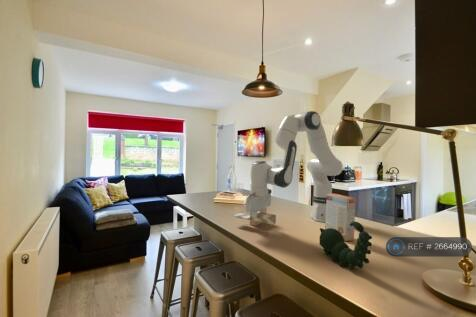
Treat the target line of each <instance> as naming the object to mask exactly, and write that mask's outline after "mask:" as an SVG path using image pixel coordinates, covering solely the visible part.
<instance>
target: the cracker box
mask: <svg viewBox="0 0 476 317" xmlns="http://www.w3.org/2000/svg"><path fill="white" fill-rule="evenodd" d="M356 201H357V200H356V197H351V196H348V195H343V194H339V193H333V192H332V194H327V200H326V221H325V222H324V223H325V224H324V226H325V227H324V229H328V228H333V229H336V230H338V231H339V232H340V233H341V234H342V236H343V238H344V242H352V241H354V238H355V227H354V226H350V223H351V222H354V221H355V222H356V206H357V205H356Z"/></svg>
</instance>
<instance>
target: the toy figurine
mask: <svg viewBox="0 0 476 317" xmlns="http://www.w3.org/2000/svg"><path fill="white" fill-rule="evenodd" d="M350 226H354V229H355V230H356V231H357V232H358V237H357V239H356V244H355V245H354V249H352V248H350V246H349V245H348V244H347V243H346V241H344V238H343V236H342V234H341V233H340V232H339V231H338V230H336V229H333V228H328V229H325V228H323V227H322V228H321V227H320V228H319V231H320V234H319V245H320V246H321V248H322V249H323V253H324V254H326V255H328V256H330V259H331V260H332V261H337V260H339V262H338V264H339V266H340V267H343V268H344V267H345V266H348V268H349V270H354V269H355V268H356V267H357V268H360V269H362V268H363V267H364V264H369V263H370V259H369V258H368V257H367V255H371V254H372V251H371V250H370V249H368V248H369V247H372V246H373V244H372V242H371V241H370V240H372V239H373V237H372V235H370V233H368V232H367V231H365V229H364V226H363V224H362V223H361V222H358V221H356V220H355V221H354V222H351V223H350Z"/></svg>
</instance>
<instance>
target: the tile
mask: <svg viewBox="0 0 476 317" xmlns="http://www.w3.org/2000/svg"><path fill="white" fill-rule="evenodd" d="M267 208H268V207H265V208H264V211H263V212H264V213H267ZM257 211H259V212H260V210H257ZM260 224H263V222H258V221H254V220H249V225H251V226H253V227H255V226H258V225H260Z"/></svg>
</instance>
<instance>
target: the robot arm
mask: <svg viewBox="0 0 476 317" xmlns="http://www.w3.org/2000/svg"><path fill="white" fill-rule="evenodd" d="M321 121H322V120H321V116H320V115H319V112H317V111H313V110H310V111H303V112H300V113H297V114H292V115H286V116H284V118H283V119H282V121H281V123H280V124H279V126H278V129H277V132H276V134H275V138H274V140H275V143H276V145H277V146H278V147H279V148H281V149H282V150H283V151H284V157H283V161H282V165H281V166H280V167H278V166H277V167H275V166H271V165H270V164H268V163H267V161H266V160H257V161H254V162H252V164H251V169H250V180H251V181H250V182H251V184H250V192H249V194H248V195H247V197H246V200H245V206H244V210H245V212H246V213H249V214H250V213H252V212H253V214H254V218H255V219H257V218H258V215H257V210H260V212H263V211H264V208H265V207H267V208H268V207H270V206H271V204H272V194H273V193H272V191H273V190H272V189H270V188H268V185H272V186H277V187H279V188H287V187H288V186H290V185H291V183H292V181H293V170H294V165H295V162H296V156H297V150H298V149H297V148H298V146H297V143H296V138H297V134H298V132H299V133H302V132H306V138H307V142H308V146H309V150H310V152H311V153H312V154H313V155H314V156H315V157H313V158H310V159H308V160H307V162H306V168H307V170H308V172H310V175H311V177H312V182H313V195H312V198H311V199H312V206H311V207H312V208H311V213H310V215H309V217H310V219H312V220H314V221H316V222H322V223H325V221H326V200H327V194H332V193H333V184H332V183H331V181H329V179H328V176H329V177H330V176H331V177H332V176H334V177H335V176H339V175H340V174H341V173H342V172H343V167H344V166H343V163H342V161H341V160H340V159H339V158H337V157H336V156H335V155H334V154H333V152H332V150H331V148H330V146H329V142H328V139H327V135H326V132H325V129H324V126H323V124H322V122H321Z"/></svg>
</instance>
